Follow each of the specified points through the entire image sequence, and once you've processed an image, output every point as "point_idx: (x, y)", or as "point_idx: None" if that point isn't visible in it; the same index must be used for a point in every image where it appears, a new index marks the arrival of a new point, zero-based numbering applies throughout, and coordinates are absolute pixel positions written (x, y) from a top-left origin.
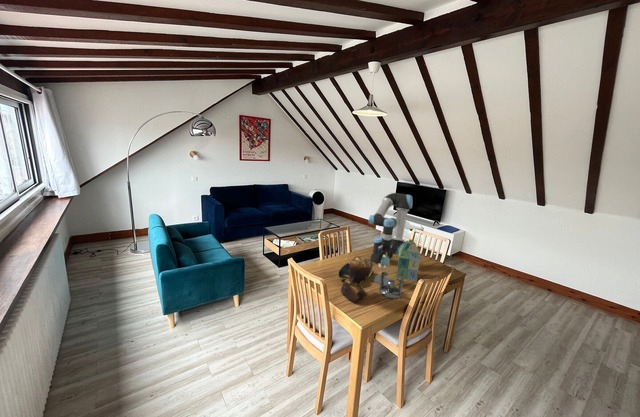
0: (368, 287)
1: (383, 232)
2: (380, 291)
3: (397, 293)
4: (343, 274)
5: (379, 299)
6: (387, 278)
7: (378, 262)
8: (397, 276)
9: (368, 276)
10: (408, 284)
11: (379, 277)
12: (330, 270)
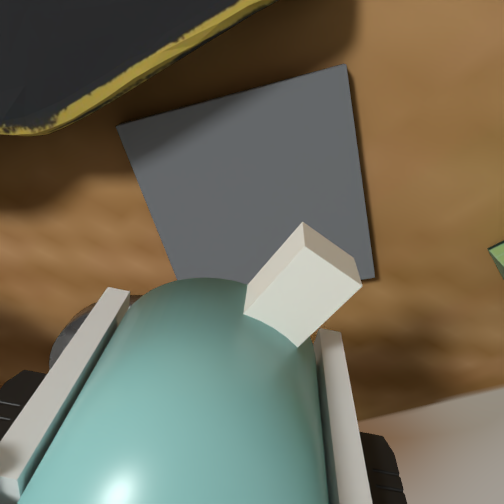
0: (6, 219)
1: None
2: (54, 351)
3: None
4: None
5: (5, 379)
6: (343, 224)
7: (9, 388)
8: (498, 264)
9: (34, 134)
10: (432, 387)
11: (271, 149)
12: None
